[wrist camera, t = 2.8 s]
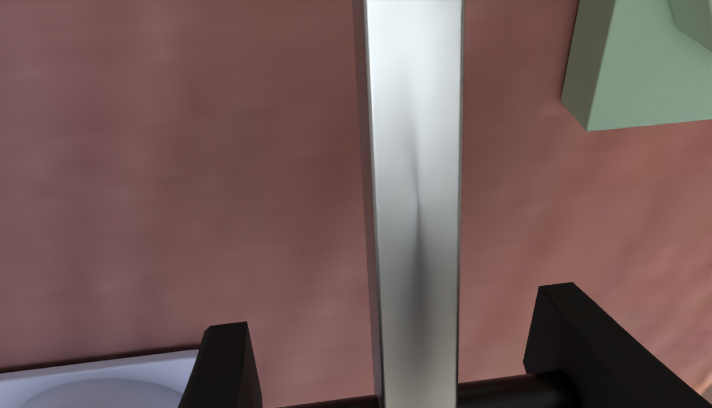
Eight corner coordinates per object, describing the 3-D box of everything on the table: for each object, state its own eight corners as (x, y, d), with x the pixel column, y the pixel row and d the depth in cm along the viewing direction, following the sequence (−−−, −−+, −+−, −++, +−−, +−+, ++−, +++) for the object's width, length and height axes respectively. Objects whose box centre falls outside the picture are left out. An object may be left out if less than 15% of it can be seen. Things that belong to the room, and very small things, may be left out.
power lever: (537, 373, 11) (602, 484, 9) (258, 411, 11) (254, 537, 8) (614, -513, 6) (799, -745, 4) (105, -515, 6) (7, -775, 4)
